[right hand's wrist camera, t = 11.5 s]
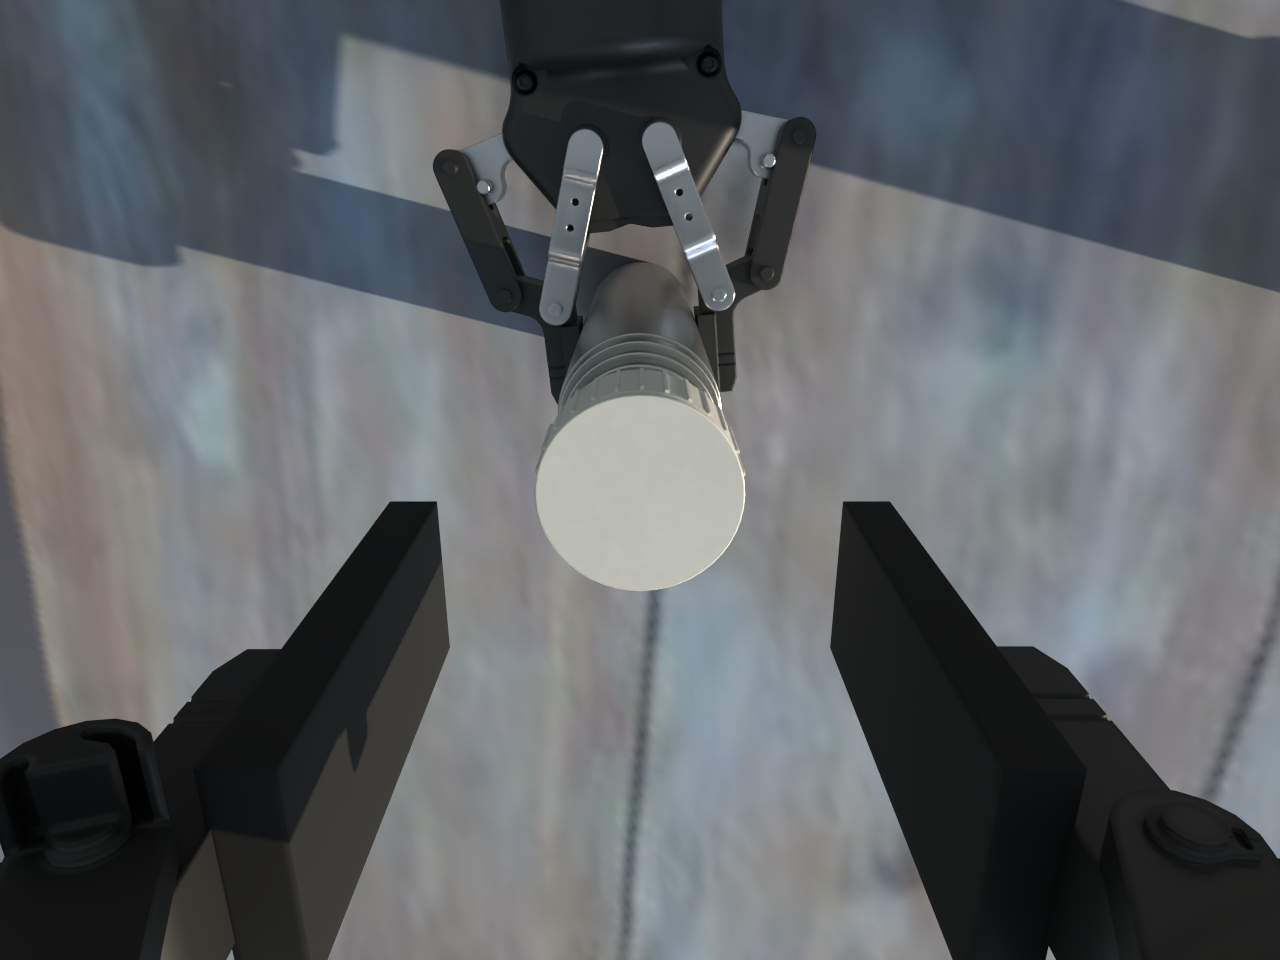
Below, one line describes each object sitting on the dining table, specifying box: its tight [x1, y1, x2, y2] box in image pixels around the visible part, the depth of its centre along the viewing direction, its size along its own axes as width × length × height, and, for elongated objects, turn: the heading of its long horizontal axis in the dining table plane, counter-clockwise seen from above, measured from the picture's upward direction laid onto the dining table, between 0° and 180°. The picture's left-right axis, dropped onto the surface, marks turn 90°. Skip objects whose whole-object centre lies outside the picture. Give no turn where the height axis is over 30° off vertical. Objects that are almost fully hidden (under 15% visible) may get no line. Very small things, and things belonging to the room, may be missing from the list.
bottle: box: [558, 262, 722, 412], centre depth 29 cm, size 4×4×23 cm
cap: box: [534, 368, 745, 591], centre depth 19 cm, size 4×4×2 cm
